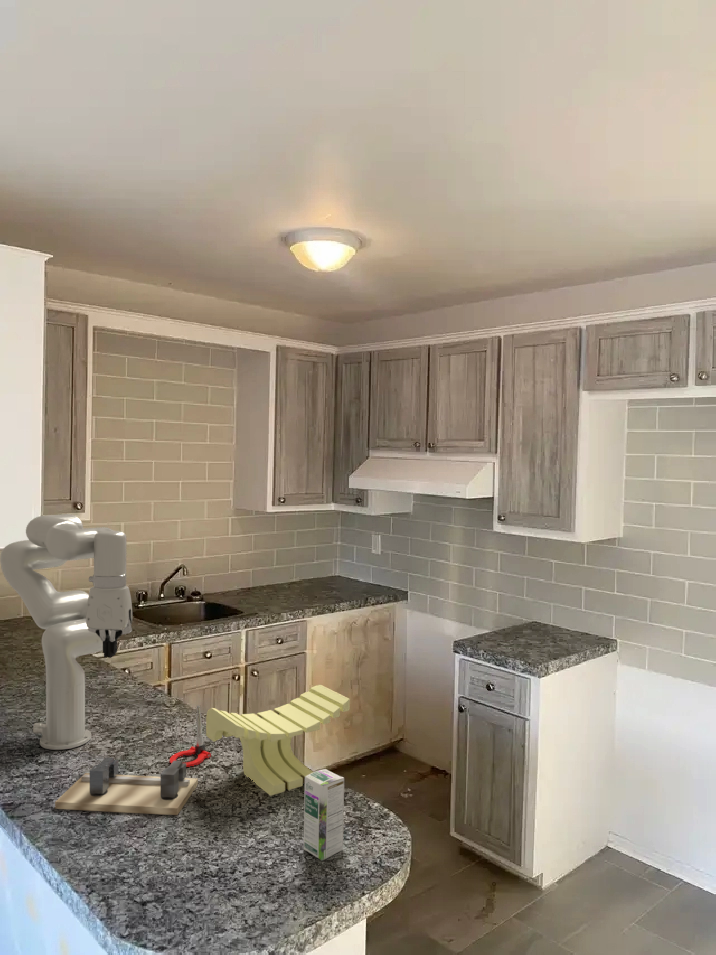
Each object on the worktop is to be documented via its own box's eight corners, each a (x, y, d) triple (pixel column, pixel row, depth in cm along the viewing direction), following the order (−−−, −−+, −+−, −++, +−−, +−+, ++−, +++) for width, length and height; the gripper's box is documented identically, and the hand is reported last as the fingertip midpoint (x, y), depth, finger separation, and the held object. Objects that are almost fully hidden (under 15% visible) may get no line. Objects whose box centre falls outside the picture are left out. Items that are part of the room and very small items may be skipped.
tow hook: (184, 773, 173) (214, 758, 180) (182, 720, 172) (212, 708, 179) (162, 764, 178) (191, 750, 185) (160, 713, 177) (189, 701, 184)
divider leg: (89, 794, 157) (89, 770, 157) (105, 777, 165) (105, 755, 165) (102, 794, 157) (102, 771, 156) (118, 778, 165) (118, 755, 165)
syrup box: (302, 849, 139) (302, 776, 138) (325, 838, 143) (325, 766, 143) (321, 861, 135) (322, 785, 134) (344, 849, 139) (345, 776, 138)
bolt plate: (55, 808, 154) (55, 776, 154) (85, 779, 168) (85, 749, 168) (177, 815, 152) (177, 782, 151) (197, 784, 166) (197, 755, 165)
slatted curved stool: (313, 749, 186) (314, 681, 186) (349, 771, 173) (349, 698, 173) (206, 779, 169) (206, 704, 168) (236, 806, 156) (236, 725, 155)
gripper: (73, 583, 172) (73, 659, 172) (133, 585, 170) (132, 662, 171) (88, 578, 179) (88, 650, 180) (145, 580, 178) (145, 653, 178)
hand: (109, 656), depth 175 cm, fingers closed
